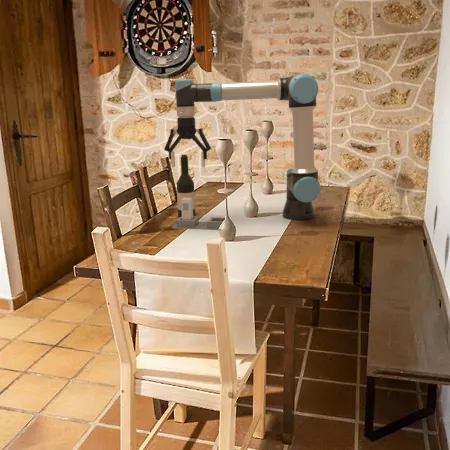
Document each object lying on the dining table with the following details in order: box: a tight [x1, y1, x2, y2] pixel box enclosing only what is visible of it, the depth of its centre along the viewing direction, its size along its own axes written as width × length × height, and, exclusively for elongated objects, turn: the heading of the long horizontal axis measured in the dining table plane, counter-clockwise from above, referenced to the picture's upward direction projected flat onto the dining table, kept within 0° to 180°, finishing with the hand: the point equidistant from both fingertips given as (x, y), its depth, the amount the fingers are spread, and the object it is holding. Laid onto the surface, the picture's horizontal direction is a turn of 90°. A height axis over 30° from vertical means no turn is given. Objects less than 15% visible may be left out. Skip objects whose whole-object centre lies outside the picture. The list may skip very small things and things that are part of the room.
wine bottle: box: [176, 154, 196, 219], centre depth 236 cm, size 8×8×30 cm
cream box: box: [181, 198, 193, 220], centre depth 219 cm, size 4×5×12 cm
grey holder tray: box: [170, 215, 226, 231], centre depth 219 cm, size 26×12×4 cm, turn 77°
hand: (188, 167), depth 215 cm, fingers open, 13 cm apart
